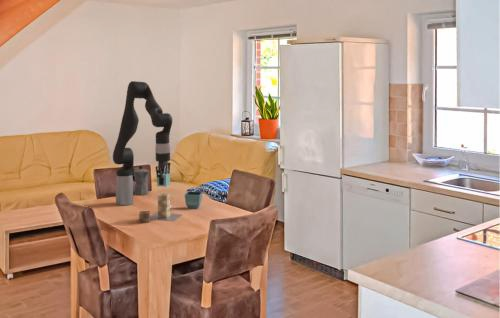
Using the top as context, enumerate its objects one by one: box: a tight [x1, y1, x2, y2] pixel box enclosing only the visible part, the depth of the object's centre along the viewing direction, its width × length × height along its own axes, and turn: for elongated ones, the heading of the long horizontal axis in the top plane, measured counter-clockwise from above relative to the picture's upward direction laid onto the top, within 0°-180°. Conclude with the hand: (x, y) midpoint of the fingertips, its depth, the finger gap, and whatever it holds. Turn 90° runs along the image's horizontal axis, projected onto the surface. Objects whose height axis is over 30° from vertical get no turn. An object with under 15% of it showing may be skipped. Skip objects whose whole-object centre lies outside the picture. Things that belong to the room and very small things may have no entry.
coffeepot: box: [133, 165, 150, 196], centre depth 352 cm, size 15×9×18 cm, turn 54°
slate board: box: [150, 212, 183, 222], centre depth 291 cm, size 16×14×1 cm
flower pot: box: [184, 191, 203, 210], centre depth 314 cm, size 9×9×9 cm
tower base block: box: [157, 204, 171, 218], centre depth 291 cm, size 5×5×6 cm
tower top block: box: [157, 193, 171, 208], centre depth 290 cm, size 5×5×6 cm
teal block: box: [156, 173, 171, 187], centre depth 288 cm, size 5×5×6 cm
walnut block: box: [138, 210, 151, 224], centre depth 282 cm, size 5×5×6 cm
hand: (163, 183), depth 288 cm, fingers closed on teal block, 5 cm apart
